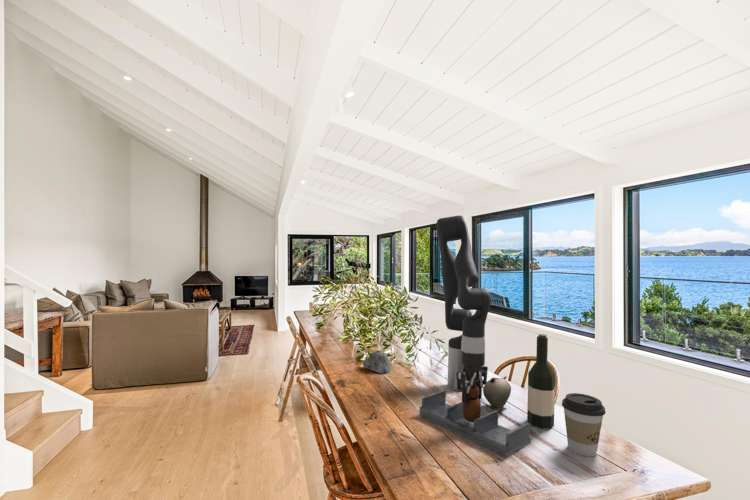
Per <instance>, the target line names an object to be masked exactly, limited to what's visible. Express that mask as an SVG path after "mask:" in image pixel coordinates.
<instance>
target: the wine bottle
mask: <svg viewBox="0 0 750 500" xmlns="http://www.w3.org/2000/svg"><path fill="white" fill-rule="evenodd" d="M548 342H549V338H548V337H547V334H544V333H539V334H538V336H537V337H536V357H535V359H536V361H535V363H534V364H533V366H532V367H531V368H530V370H529V371H528V372H527V373H528V375H527V376H528V377H527V407H526V409H527V411H526V412H527V414H526V415H527V418H526V421H527V422H529V423H530V427H531V426H532V427H535V428H537V429H541V430H552V429H553V427H554V426H555V403H556V401H555V396H556V395H555V394H556V386H555V385H556V375H555V373H554V371H553V370H552V367H550V365H549V363H548V353H549V352H548V349H549V348H548V345H549V343H548ZM527 422H526V423H527Z"/></svg>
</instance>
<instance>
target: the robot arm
mask: <svg viewBox="0 0 750 500" xmlns="http://www.w3.org/2000/svg"><path fill="white" fill-rule="evenodd" d="M435 228H436V234H437V236H436V237H437V241H438V247H439V253H440V263H441V265H440V266H441V267H440V268H441V278H442V280H441V281H442V286H443V287H442V288H443V295H444V318H445V326H446V329H447V330H451V331H459V332H462V334H461V335H459V336H454V337H451V338H449V339H448V344H447V345H448V348H447V350H448V351H447V353H448V354H447V355H448V358H447V388H448V389H450V390H452V391H458V392H461V402H463V403H464V404H469V390H470V387H471V386H472V385H473V381H474V378H475V377H476V386H478V388H479V396H478V398H479V399H480V400H482V396H483V395H482V394H483V387H484V386H485V385H486V382H488V371H489V370H488V369H489V367H488V366H487V365H486V364H485V363H486V361H485V360H486V339H485V332H486V331H485V330H486V329H485V327H486V322H487V318H488V313H489V310H490V307H491V304H492V296H491V292H490V291H489V290H487V289H486V288H484V287H483V288H482V287H481V288H480V287H479V288H478V287H475V286H476V285H478V283H479V281H480V277H479V273H478V271H477V268H476V264H475V261H474V258H473V251H472V245H471V240H470V234H469V227H468V224H467V221H466V218H465V217H464V216H463V215H453V216H447V217H442V218H438V219H437V221H436V227H435ZM459 240H460V241H461V242H460V247H459V249H458V252H457V254H456V256H455V254H454V253H453V252H452V250H451V249H450V248H449V246H448V242H453V241H459ZM472 287H475V288H472ZM456 301H457V303H458V306H459V307H460V308H455V307H454V305H455V302H456ZM472 311H475V312H474V314H473V313H472ZM466 386H467V388H466Z"/></svg>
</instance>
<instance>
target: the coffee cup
mask: <svg viewBox="0 0 750 500" xmlns="http://www.w3.org/2000/svg"><path fill="white" fill-rule="evenodd" d="M561 406H562V407H563V412H564V413H563V414H564V422H565V431H566V439H567V444H568V448H569V449H568V450H570V451H571V452H572V453H574V454H577V455H579V456H582V457H591V458H592V457H594V456H596V455H597V452H598V447H599V442H600V436H601V430H602V425H603V424H602V423H603V420H604V419H603V418H604V415H606V408H605V406H604V405H603V402H602V401H601V400H600V399H598V398H597V397H595V396H592V395H589V394H584V393H577V392H576V393H574V392H573V393H568V394H566V395H565V398H563V399H562V400H561Z"/></svg>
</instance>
